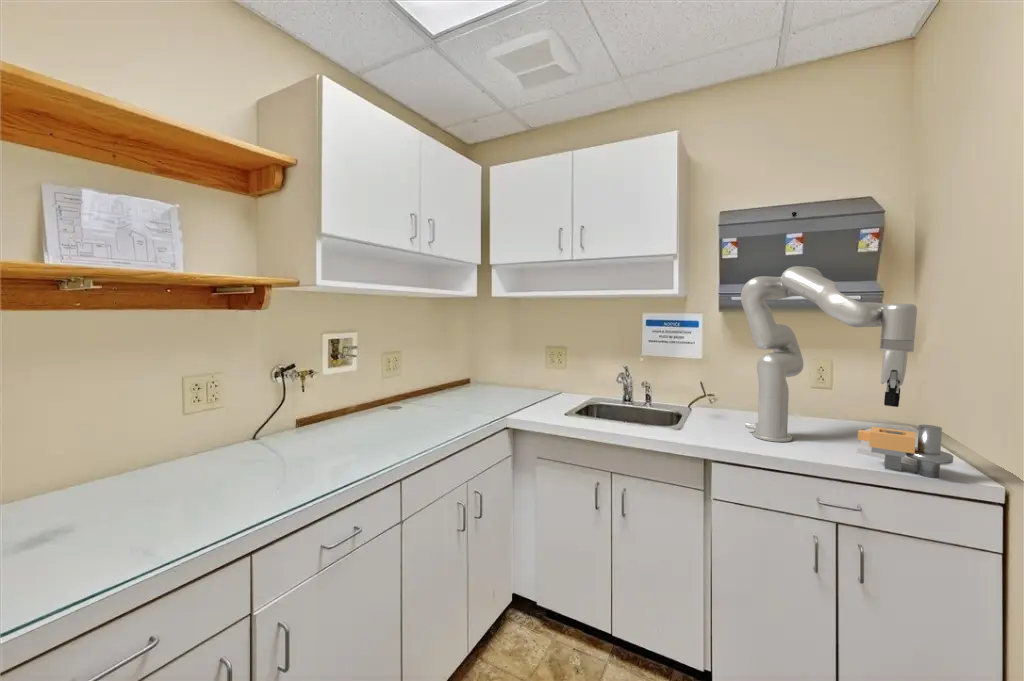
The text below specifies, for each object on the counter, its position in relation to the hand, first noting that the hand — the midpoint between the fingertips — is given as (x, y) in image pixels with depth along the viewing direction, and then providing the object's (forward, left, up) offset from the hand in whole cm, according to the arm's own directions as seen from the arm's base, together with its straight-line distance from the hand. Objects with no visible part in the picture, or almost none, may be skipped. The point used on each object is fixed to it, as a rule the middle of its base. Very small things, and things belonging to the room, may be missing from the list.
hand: (891, 403), depth 132 cm
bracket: (-1, 0, -13) cm, 13 cm away
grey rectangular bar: (+1, 0, -20) cm, 20 cm away
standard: (+5, 0, -20) cm, 20 cm away
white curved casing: (0, +13, -20) cm, 24 cm away
